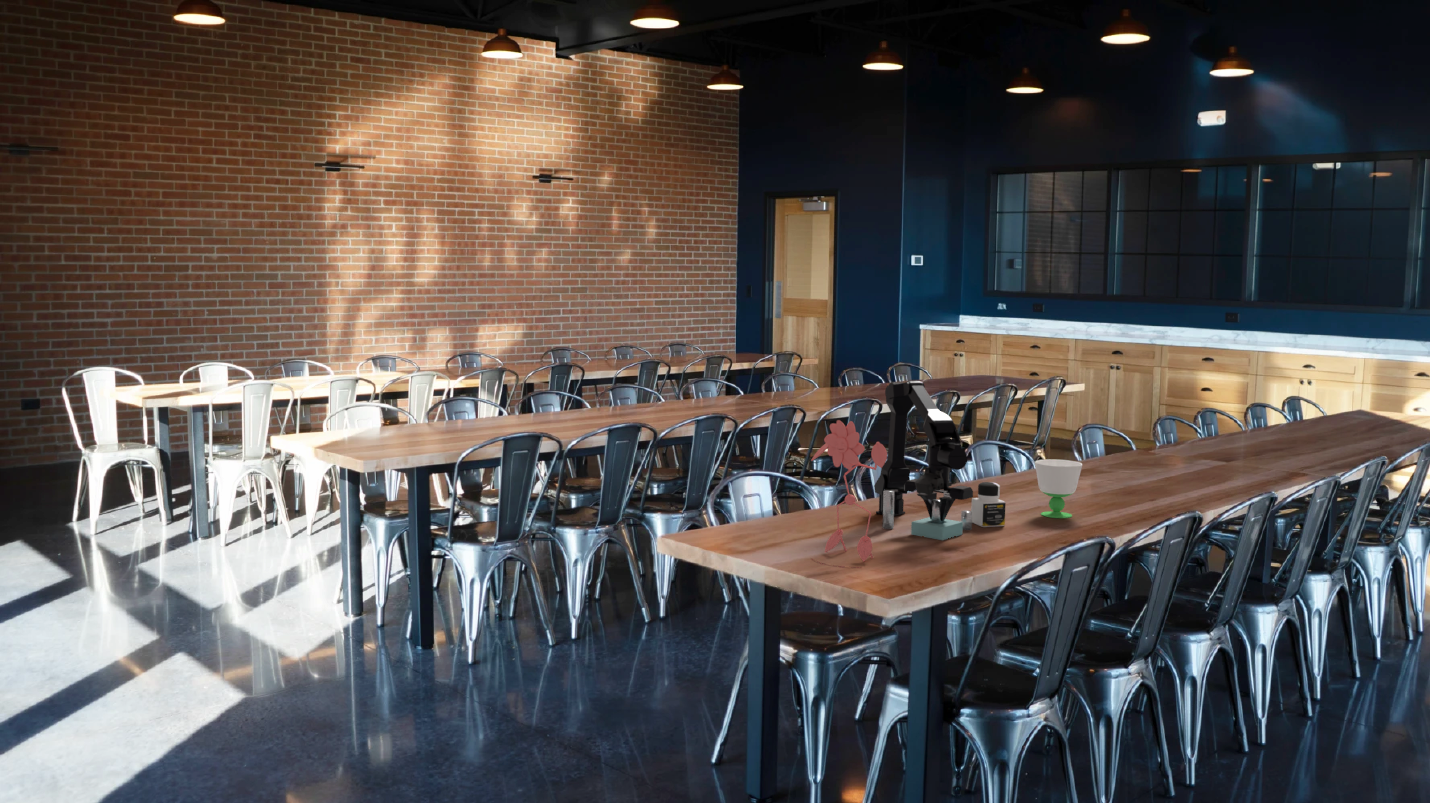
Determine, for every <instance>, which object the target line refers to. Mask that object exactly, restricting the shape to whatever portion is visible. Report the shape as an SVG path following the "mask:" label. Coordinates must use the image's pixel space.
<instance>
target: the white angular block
mask: <svg viewBox="0 0 1430 803" xmlns="http://www.w3.org/2000/svg"><path fill="white" fill-rule="evenodd" d="M977 486H978V487H977V497H972V498H971V510H970V511H972V524H975V525H976V526H980V527H982V528H990V527H993V528H994V527H995V528H996V527H1005V525H1006V523H1005V522H1006V504H1007V503H1006V501H1004V500H1002V499H1000V493H1001V491H1000V490H1001V485H1000V484H998V483H996V482H993V481H984V482H983V481H982V482H980V483H978V485H977Z"/></svg>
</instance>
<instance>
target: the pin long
mask: <svg viewBox="0 0 1430 803" xmlns="http://www.w3.org/2000/svg"><path fill="white" fill-rule="evenodd" d="M894 520H895V516H894V491H891V490H885V491H883V514H882V529H883V528H884V530H894V529H893V528H894V527H895V526H894V523H895V521H894Z"/></svg>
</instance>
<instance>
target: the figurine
mask: <svg viewBox="0 0 1430 803" xmlns="http://www.w3.org/2000/svg"><path fill="white" fill-rule="evenodd" d="M829 430H830V432H831V433H829V434H827V435H826V436H825V437H824V439H823V440H824V443H825V444H822V445H821V447H820V448H819V449H817V451H816V452H815V453H814V455H813V456H812V458H811V460H810V461H811V462H812V461H815V460H816V459H817V458H819V457H820V456H821V455H822V454H824V452H825V451H826V450H827V455H828V456H829V457H832V462H833V466H834V467H835V468H839V467H841V465H843V468H846V469H847V471H846V472H844V475H843V479H844V483H845V487H846V492H847V495H846V496H845V497H844V500H843V501H842V502H840V503H839V504H837V505H836V513H837V515H836V516H837V518H836V519H837V530H835V531H834V532H833V533H832V534H831V535H830V536H829V538H828V540H827V541H826V544H825V549H824V553H827V552H830V551H831V550H833V549H834V548H835V547H837V546H838V545H839V543H840V542H841V544H842V545H841V546H842V548H843V550H844V552H848V550H847V548H846V544H845V542H844V539H843V535H844V531H843V529H840V521H839V519H840V516H839V514H840V513H839V507H840V506H842V505H843V504H846V505H848V506H853V505H854V506H857V507H859V508H861V509H862V510H864V511H866V512H868V513H869V514H868V520H867V526H866V532H865V535H863V536H861V537H860V539H859V541H858V542H857V547H856V548H857V554H858V555H859V557H860V559H861V560H862V561H863V562H864V563H865V561H866V560H868V558H869V557H870V558H871V559H873V558H874V556H873V553H872V551H873V542H872V540H871V538H870V537H869V536H868V532H869V526H870V522H871V517H872V513H871V512H872V511H870V510H869V509H866V508H864V507H863V506H861V505H860V504H858V503H856V501H857V500H856V496H854V495H853V494H850V491H849V485H848V480H847V475H848V474H849V473H851V472H852V471H853V470H854V469H855V468H857V467H860V466H861V467H863V468H867V469H870V470H874V471H877V468H878V467H879V468H880V469H881V468H882V467H883V465H884V463H885V462H886V461H887V459H888V450H887V449H886V447H885V446H884V444H882V443H881V442H880V441H876V443H875V444H874V445H873V446H872V449H871V459H872V461H873V463H874V467H873V466H870V465H866V464H863V463H861V461H860V459H859V457H858V456H860V455H861V454H863V453H864V452H865V445H863V444H862V443H861V442H859V441H860V433H859V432H858V431H857V430H856V426H855V423H854V422H853V421H851V420H849V422H848V423H847V425H845V424H844V422H843V421H841V420H840V419H837V420H836V423H834V422H833V423H830V425H829ZM811 560H812V561H813V560H814V559H813V558H811ZM818 562H819V564H820V565H824V564H825V563H823V562H820V561H818ZM821 563H822V564H821ZM832 565H833V566H832V567H835V565H834V564H832ZM837 566H838V567H839V568H844V566H842V565H841V566H839V565H837ZM850 567H851V568H852V569H856V568H857V569H858V568H859V569H861V568H863V567H862V566H850Z"/></svg>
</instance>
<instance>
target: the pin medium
mask: <svg viewBox="0 0 1430 803" xmlns="http://www.w3.org/2000/svg"><path fill="white" fill-rule="evenodd" d="M932 523H935V524H943V521H941V501H940V499H939V498H936V499H934V500H932Z"/></svg>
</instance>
